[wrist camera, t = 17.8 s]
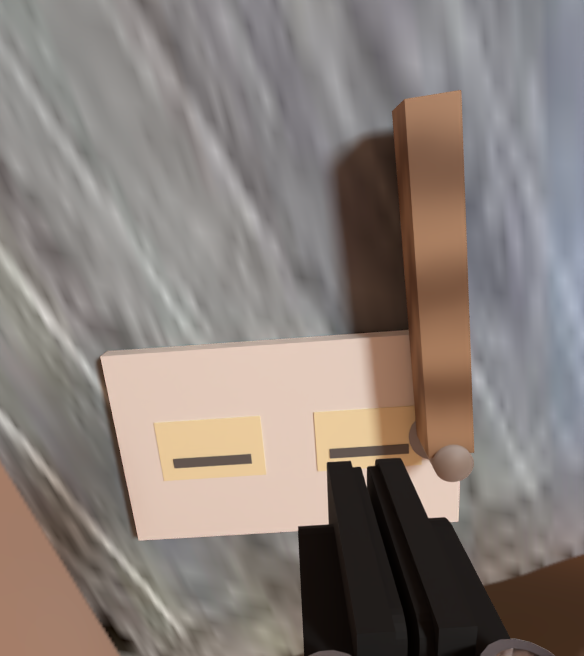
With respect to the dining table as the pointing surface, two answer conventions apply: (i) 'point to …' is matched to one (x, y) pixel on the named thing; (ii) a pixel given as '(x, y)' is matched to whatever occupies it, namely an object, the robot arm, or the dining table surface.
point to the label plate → (262, 430)
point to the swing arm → (436, 276)
